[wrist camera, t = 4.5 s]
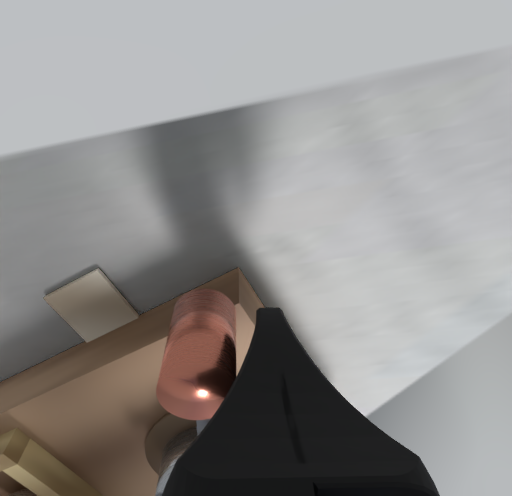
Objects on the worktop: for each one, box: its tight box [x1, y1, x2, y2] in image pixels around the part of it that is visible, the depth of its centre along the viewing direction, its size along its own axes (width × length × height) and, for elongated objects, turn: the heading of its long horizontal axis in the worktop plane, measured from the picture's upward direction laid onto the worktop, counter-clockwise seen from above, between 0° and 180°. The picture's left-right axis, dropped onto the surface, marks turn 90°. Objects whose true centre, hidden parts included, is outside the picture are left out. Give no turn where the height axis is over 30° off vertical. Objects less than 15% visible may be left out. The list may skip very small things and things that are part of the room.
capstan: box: [155, 288, 236, 496], centre depth 15 cm, size 12×6×4 cm, turn 179°
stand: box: [0, 267, 265, 496], centre depth 19 cm, size 13×18×4 cm
